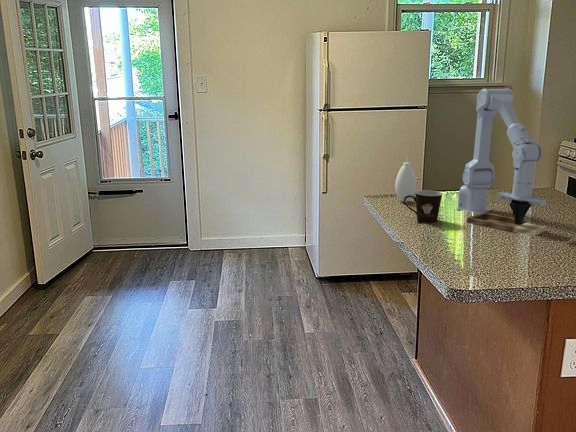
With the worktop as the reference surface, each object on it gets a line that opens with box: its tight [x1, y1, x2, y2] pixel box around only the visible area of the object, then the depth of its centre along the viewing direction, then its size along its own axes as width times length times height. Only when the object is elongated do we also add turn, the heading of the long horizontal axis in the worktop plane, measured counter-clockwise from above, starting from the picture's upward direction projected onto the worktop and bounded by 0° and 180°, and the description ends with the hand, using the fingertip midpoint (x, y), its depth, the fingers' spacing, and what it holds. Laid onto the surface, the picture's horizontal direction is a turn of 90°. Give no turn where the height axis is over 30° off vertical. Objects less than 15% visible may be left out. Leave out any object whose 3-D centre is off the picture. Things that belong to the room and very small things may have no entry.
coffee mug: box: [403, 189, 443, 224], centre depth 181 cm, size 12×9×10 cm
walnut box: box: [466, 211, 528, 233], centre depth 177 cm, size 15×11×2 cm
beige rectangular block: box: [514, 222, 547, 237], centre depth 169 cm, size 6×8×2 cm
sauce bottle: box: [394, 155, 417, 203], centre depth 208 cm, size 8×8×18 cm
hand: (518, 224), depth 172 cm, fingers closed
